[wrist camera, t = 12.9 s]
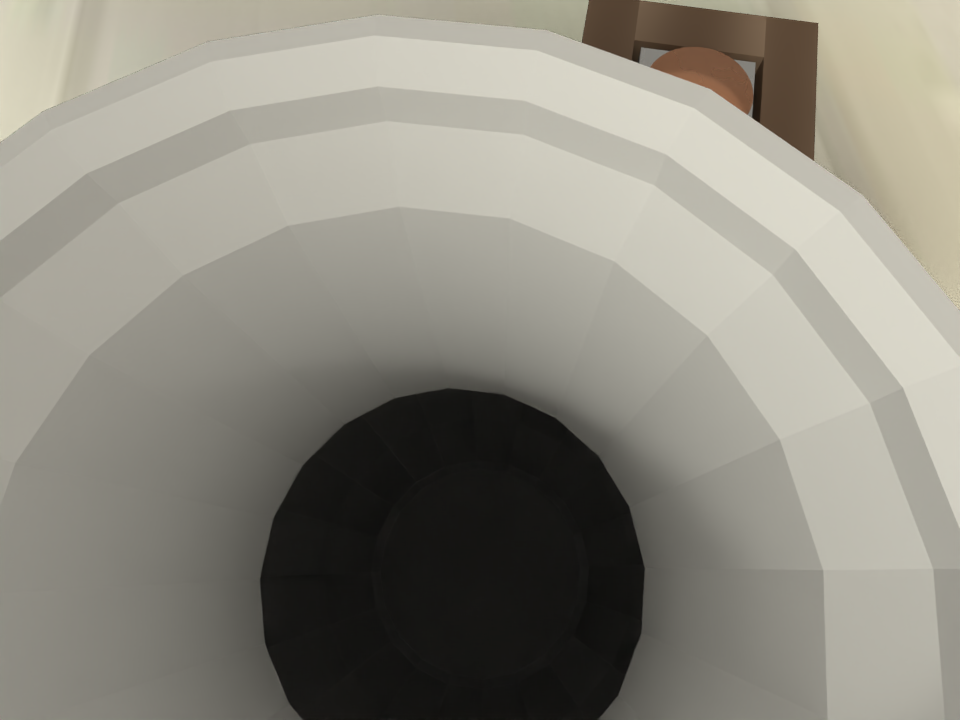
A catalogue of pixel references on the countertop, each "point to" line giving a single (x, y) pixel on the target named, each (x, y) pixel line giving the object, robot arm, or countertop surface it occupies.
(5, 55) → the countertop surface
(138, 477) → the bottle
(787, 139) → the button housing
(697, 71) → the release button
